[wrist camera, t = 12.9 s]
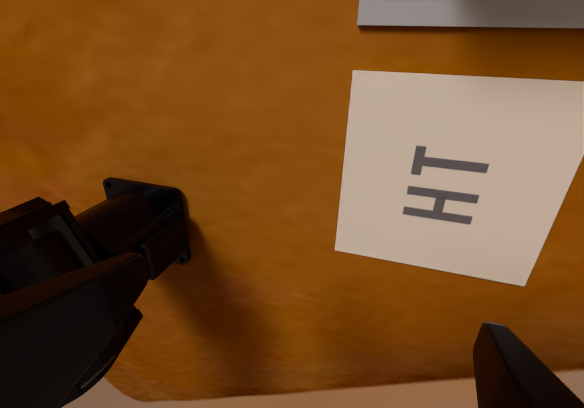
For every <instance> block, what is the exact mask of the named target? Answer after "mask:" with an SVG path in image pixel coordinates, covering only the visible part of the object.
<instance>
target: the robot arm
mask: <svg viewBox="0 0 584 408" xmlns="http://www.w3.org/2000/svg"><path fill="white" fill-rule="evenodd" d="M103 186H104V190H105V193H106V197H107V200H105V201H103V202H101V203H99V204H97V205H95V206H94V207H92V208H90V209H88V210H86V211H84V212H82V213H80V214H78V215H77V216H75V217H74V216H73V214H72V213H71V211H70V210H69V208H70V207H69V205H68V204H67V202H66V201H65V200H63V201H61V202H58V203H56V204H53V205H52V204H51V202H47V201H45V200H44V199H42V198H40V197H37V198H34V199H32V200H30V201H27V202H25V203H23V204H20V205H18V206H16V207H13V208H11V209H8V210H6V211H4V212H1V213H0V408H61V407H63V406H64V405H66V404H68V403H70V402H71V401H73V400H75V399H77V398H78V397H80V396H81V395H83V394H84V393H85V392H87V391H88V390H89V389H90V388H92V387H93V386H94V385H95V384H96V383H97V382H98V381H99V380H100V379H101V378H102V377H103V376H104V375H105V374H106V373H107V372H108V370H109V369H110V368H111V366H112V365H113V363H114V362H115V360H116V359H117V357H118V355H119V354H120V352H121V351H122V349H123V347H124V346H125V344H126V343H127V341H128V340H129V338H130V336H131V335H132V333H133V332H134V330H135V328H136V327H137V325H138V324H139V322H140V320H141V319H142V317H143V315H142V313H141V312H140V310H139V309H136V307H135V306H134V304H135V302H136V300H137V299H138V297H139V296H140V294H141V293H142V291H143V290H144V288H145V286H146V285H147V282H148V280H154V279H156V278H157V277H158V276H159V275H160V274H161V273H162V272H163V271H164V270H165V269H166V268H167V267H168V266H169V265H170V264H171V263H177V264H182V265H186V264H187V263H188V262H189V261H190V252H189V244H188V237H187V230H186V223H185V217H184V210H183V204H182V197H181V193H180V191H179V190H178V189H177V188H174V187H168V186H161V185H155V184H149V183H143V182H137V181H131V180H125V179H118V178H112V177H109V178H107V179H105V180H104V181H103ZM172 193H173V194H174V196H175V197H174V196H173V195H172ZM473 362H474V372H475V381H476V391H477V400H478V408H584V403H583V402H582V401H581V400H580V399H579V398H578V397H577V396H576V395H575V394H574V393H573V392H572V391H571V390H570V389H569V388H568V387H567V386H566V385H565V384H564V383H563V382H562V381H561V380H560V379H559V378H558V377H557V376H556V375H555V374H554V373H553V372H552V371H551V370H550V369H549V368H548V367H547V366H546V365H545V364H544V363H543V362H542V361H541V360H540V359H539V358H538V357H537V356H536V355H535V354H534V353H533V352H532V351H531V350H530V349H529V348H528V347H527V346H526V345H525V344H524V343H523V342H522V341H521V340H520V339H519V338H518V337H517V336H516V335H515V334H514V333H513V332H512V331H511V330H510V329H509V328H508V327H506V326H505V325H502V324H498V323H493V322H488V321H486V322H483V324H482V325H481V328H480V330H479V333H478V336H477V339H476V342H475V345H474V348H473Z"/></svg>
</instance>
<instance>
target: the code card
mask: <svg viewBox="0 0 584 408" xmlns="http://www.w3.org/2000/svg"><path fill="white" fill-rule="evenodd" d="M583 155H584V81H564V80H543V79H523V78H502V77H482V76H462V75H441V74H421V73H400V72H380V71H359V70H353V75H352V85H351V95H350V105H349V115H348V125H347V135H346V145H345V155H344V165H343V175H342V184H341V194H340V204H339V214H338V224H337V234H336V244H335V250H336V251H342V252H347V253H352V254H357V255H362V256H368V257H373V258H378V259H383V260H389V261H394V262H399V263H404V264H409V265H415V266H420V267H425V268H430V269H436V270H441V271H446V272H451V273H456V274H462V275H467V276H472V277H477V278H482V279H488V280H493V281H498V282H503V283H509V284H514V285H519V286H524V287H525V284H526V282H527V280H528V278H529V276H530V273H531V271H532V269H533V267H534V264H535V262H536V260H537V258H538V255H539V253H540V251H541V249H542V247H543V244H544V242H545V240H546V238H547V235H548V233H549V231H550V229H551V227H552V224H553V222H554V220H555V218H556V215H557V213H558V211H559V209H560V206H561V204H562V202H563V200H564V198H565V195H566V193H567V191H568V189H569V186H570V184H571V182H572V180H573V177H574V175H575V173H576V171H577V169H578V166H579V164H580V162H581V160H582V157H583Z"/></svg>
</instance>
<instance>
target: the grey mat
mask: <svg viewBox="0 0 584 408" xmlns="http://www.w3.org/2000/svg"><path fill="white" fill-rule="evenodd" d="M357 25H372V26H444V27H515V28H584V0H359V10H358V20H357Z"/></svg>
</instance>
